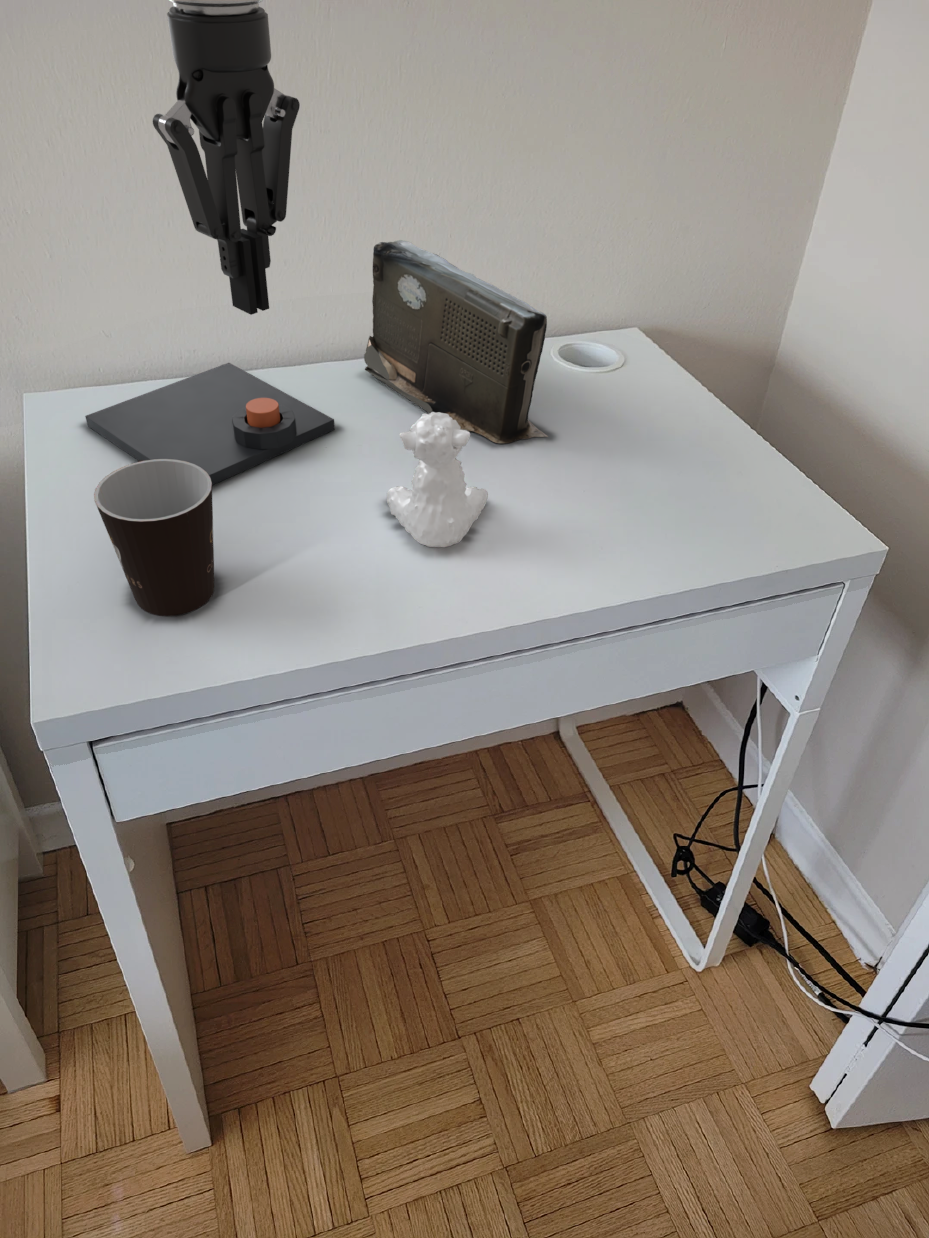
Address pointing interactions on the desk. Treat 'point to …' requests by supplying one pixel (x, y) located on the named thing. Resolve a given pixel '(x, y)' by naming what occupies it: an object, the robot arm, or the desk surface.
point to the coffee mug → (161, 532)
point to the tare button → (263, 412)
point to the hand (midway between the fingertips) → (251, 307)
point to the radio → (454, 342)
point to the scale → (209, 423)
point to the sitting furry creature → (436, 484)
